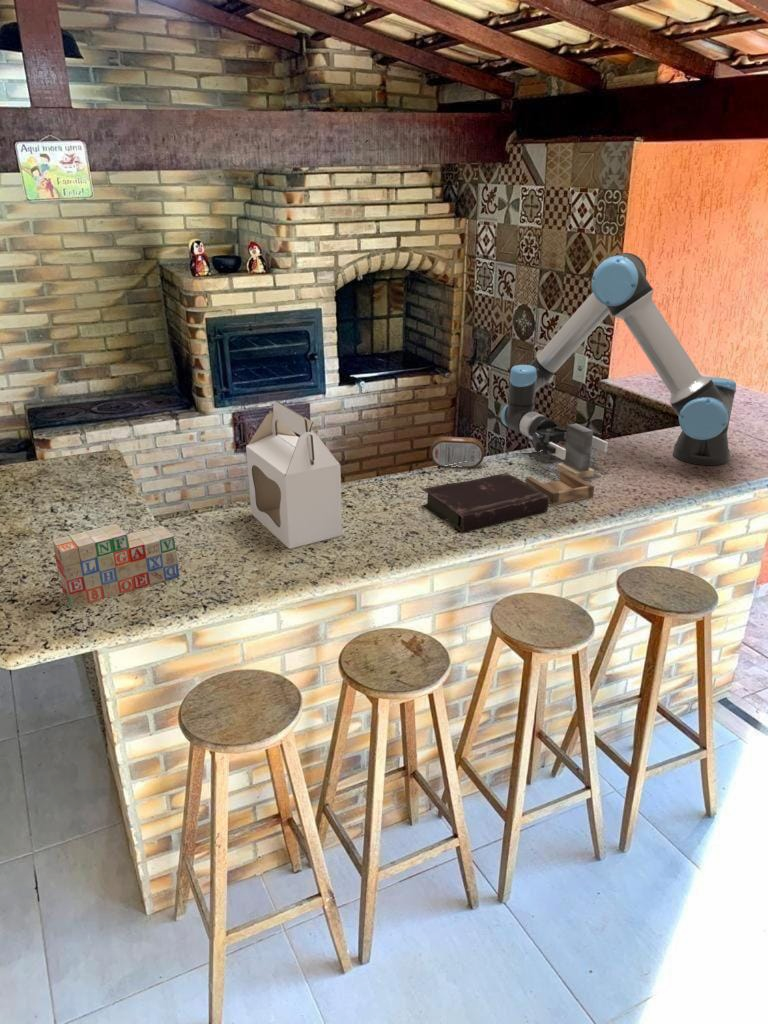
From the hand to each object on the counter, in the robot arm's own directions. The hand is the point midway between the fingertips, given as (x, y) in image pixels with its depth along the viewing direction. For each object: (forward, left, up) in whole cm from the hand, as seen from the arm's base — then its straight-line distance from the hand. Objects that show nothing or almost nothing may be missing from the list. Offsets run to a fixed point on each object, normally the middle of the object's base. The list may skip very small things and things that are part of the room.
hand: (585, 451), depth 200 cm
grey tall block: (0, -3, -8) cm, 8 cm away
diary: (+34, +5, -9) cm, 36 cm away
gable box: (+79, -4, -8) cm, 80 cm away
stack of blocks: (+119, +9, -8) cm, 120 cm away
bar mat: (0, -3, -8) cm, 9 cm away
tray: (+12, +6, -8) cm, 16 cm away
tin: (+26, -22, -8) cm, 35 cm away
